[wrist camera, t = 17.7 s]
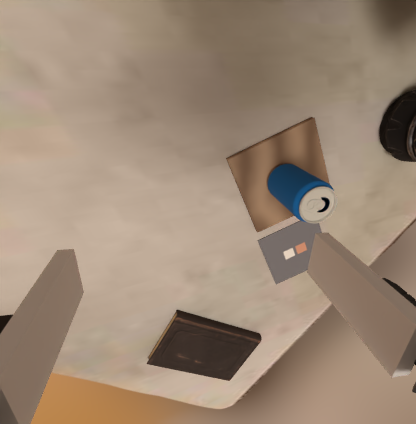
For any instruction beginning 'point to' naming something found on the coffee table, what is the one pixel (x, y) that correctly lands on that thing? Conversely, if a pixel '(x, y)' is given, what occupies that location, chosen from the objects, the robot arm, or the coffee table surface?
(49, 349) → the robot arm
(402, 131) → the container
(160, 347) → the hardcover book
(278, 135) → the walnut board
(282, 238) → the gray tile
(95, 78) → the coffee table surface
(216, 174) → the coffee table surface
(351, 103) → the coffee table surface
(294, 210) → the beverage can
